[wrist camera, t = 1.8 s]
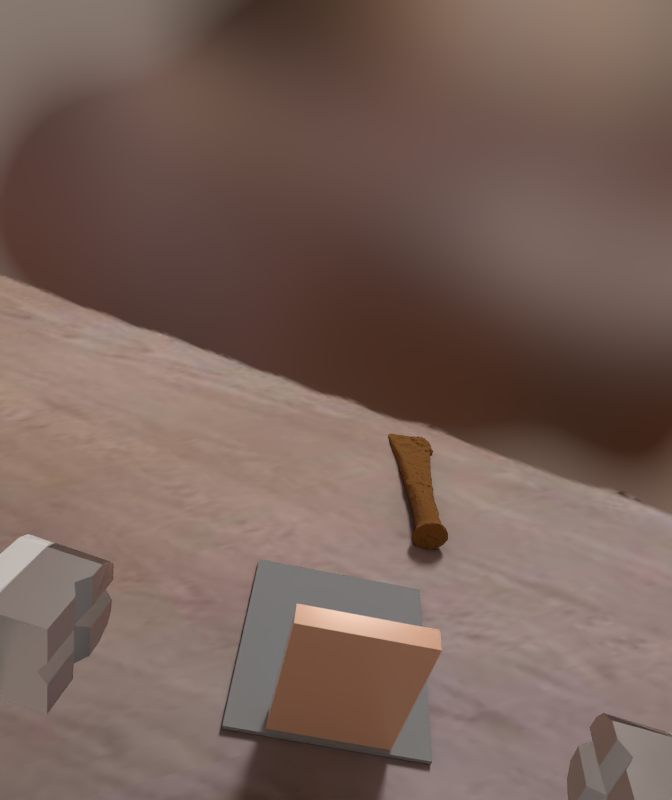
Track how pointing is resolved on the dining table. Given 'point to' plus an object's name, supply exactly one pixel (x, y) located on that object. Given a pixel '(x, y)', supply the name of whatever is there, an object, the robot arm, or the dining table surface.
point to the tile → (350, 676)
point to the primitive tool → (419, 489)
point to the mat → (269, 635)
